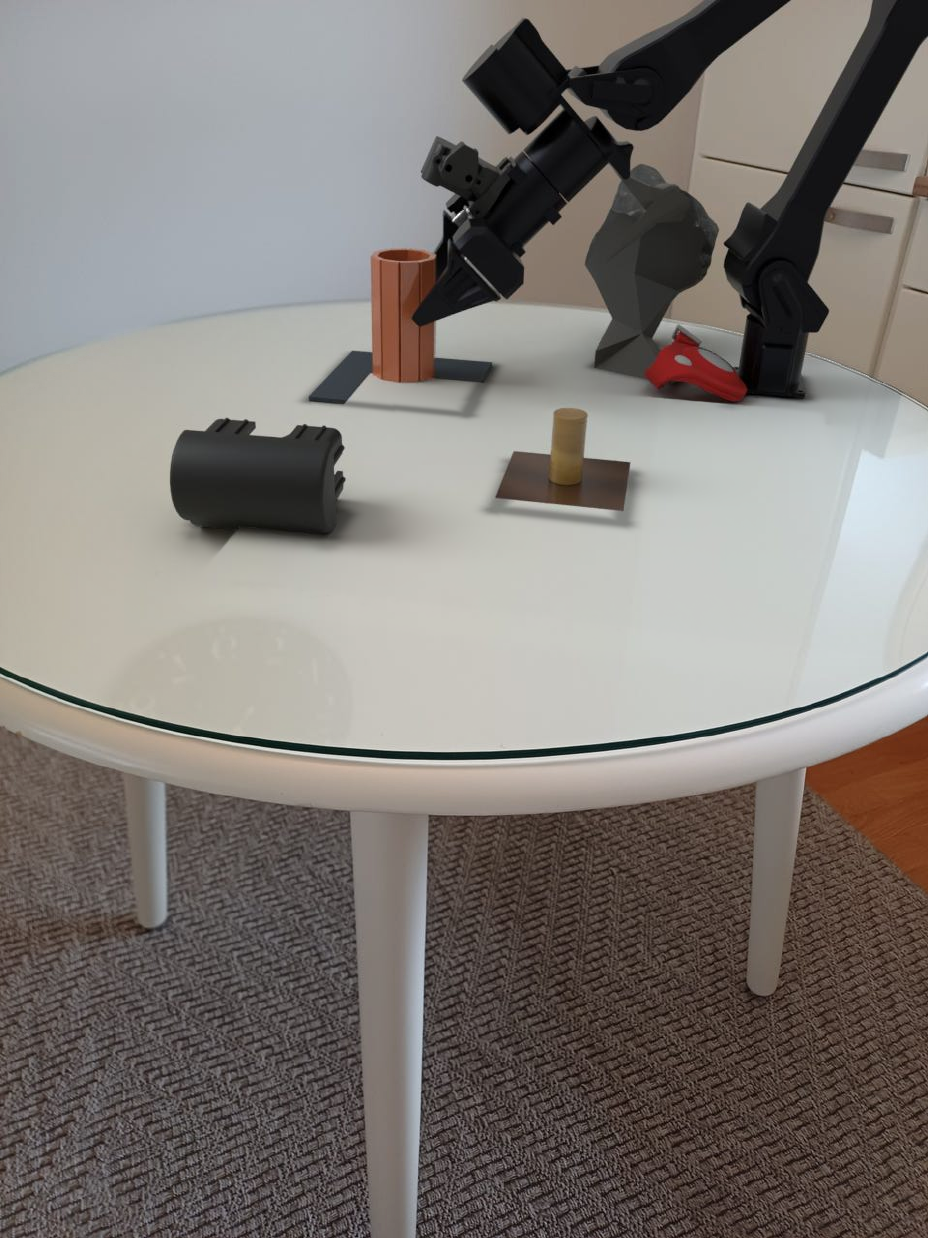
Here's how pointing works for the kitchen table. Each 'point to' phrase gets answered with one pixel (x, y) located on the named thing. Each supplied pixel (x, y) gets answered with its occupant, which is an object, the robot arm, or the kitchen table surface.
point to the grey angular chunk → (646, 264)
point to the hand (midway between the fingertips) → (414, 308)
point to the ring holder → (566, 470)
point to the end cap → (257, 477)
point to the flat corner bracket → (360, 366)
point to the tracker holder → (695, 367)
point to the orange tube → (402, 315)
